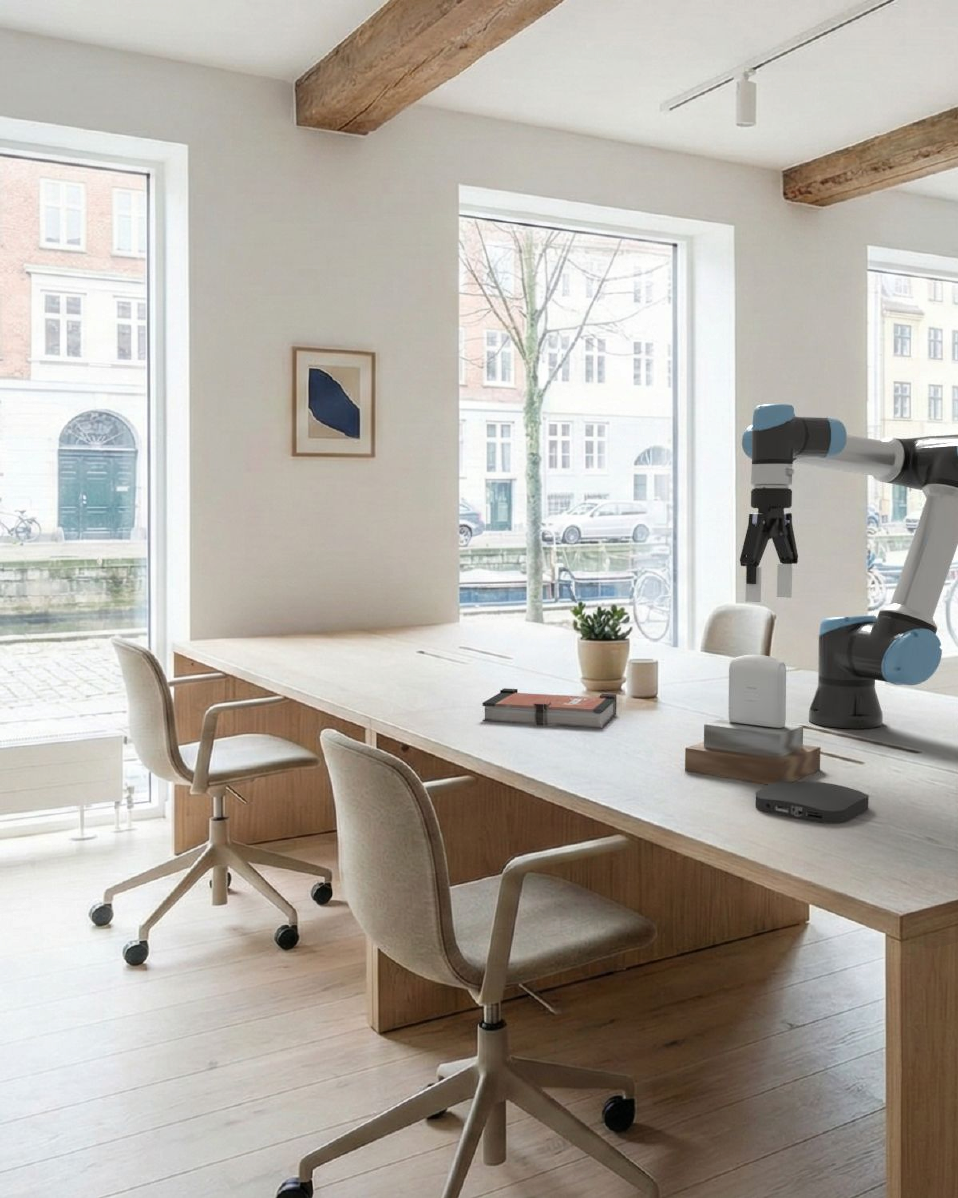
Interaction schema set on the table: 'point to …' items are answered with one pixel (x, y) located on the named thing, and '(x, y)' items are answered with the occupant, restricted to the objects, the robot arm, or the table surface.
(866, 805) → the media streaming box
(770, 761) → the grey block on wood
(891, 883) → the table surface
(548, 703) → the book
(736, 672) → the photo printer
